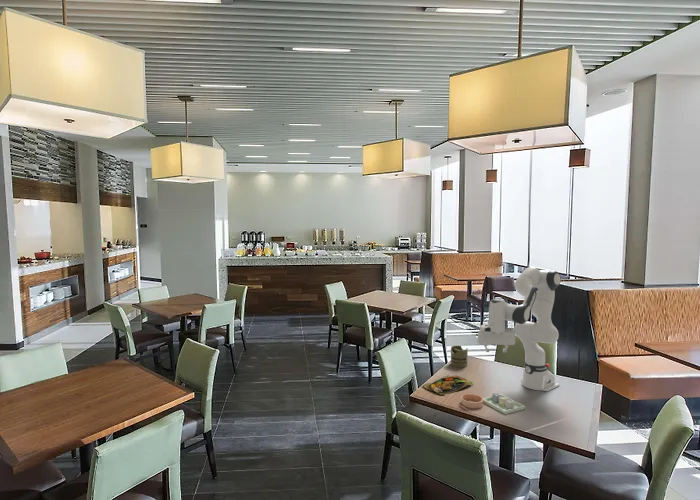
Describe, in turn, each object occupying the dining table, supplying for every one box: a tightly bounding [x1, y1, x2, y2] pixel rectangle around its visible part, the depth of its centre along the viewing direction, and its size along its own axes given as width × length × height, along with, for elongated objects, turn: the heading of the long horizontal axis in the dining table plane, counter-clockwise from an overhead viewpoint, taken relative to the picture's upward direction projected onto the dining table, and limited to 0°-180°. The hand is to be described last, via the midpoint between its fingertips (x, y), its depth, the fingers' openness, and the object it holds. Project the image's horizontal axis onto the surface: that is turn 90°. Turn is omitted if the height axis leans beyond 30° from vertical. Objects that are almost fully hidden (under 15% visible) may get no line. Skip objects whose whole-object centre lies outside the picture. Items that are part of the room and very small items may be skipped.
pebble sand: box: [499, 397, 507, 407], centre depth 221 cm, size 4×4×4 cm
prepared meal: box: [422, 374, 474, 397], centre depth 249 cm, size 28×4×18 cm
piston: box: [450, 345, 469, 369], centre depth 287 cm, size 11×12×11 cm
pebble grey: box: [506, 400, 514, 410], centre depth 217 cm, size 4×4×4 cm
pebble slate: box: [491, 393, 500, 403], centre depth 226 cm, size 4×4×4 cm
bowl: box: [460, 393, 485, 409], centre depth 224 cm, size 12×12×4 cm
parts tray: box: [482, 393, 526, 415], centre depth 221 cm, size 14×17×2 cm
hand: (495, 352), depth 228 cm, fingers open, 8 cm apart
